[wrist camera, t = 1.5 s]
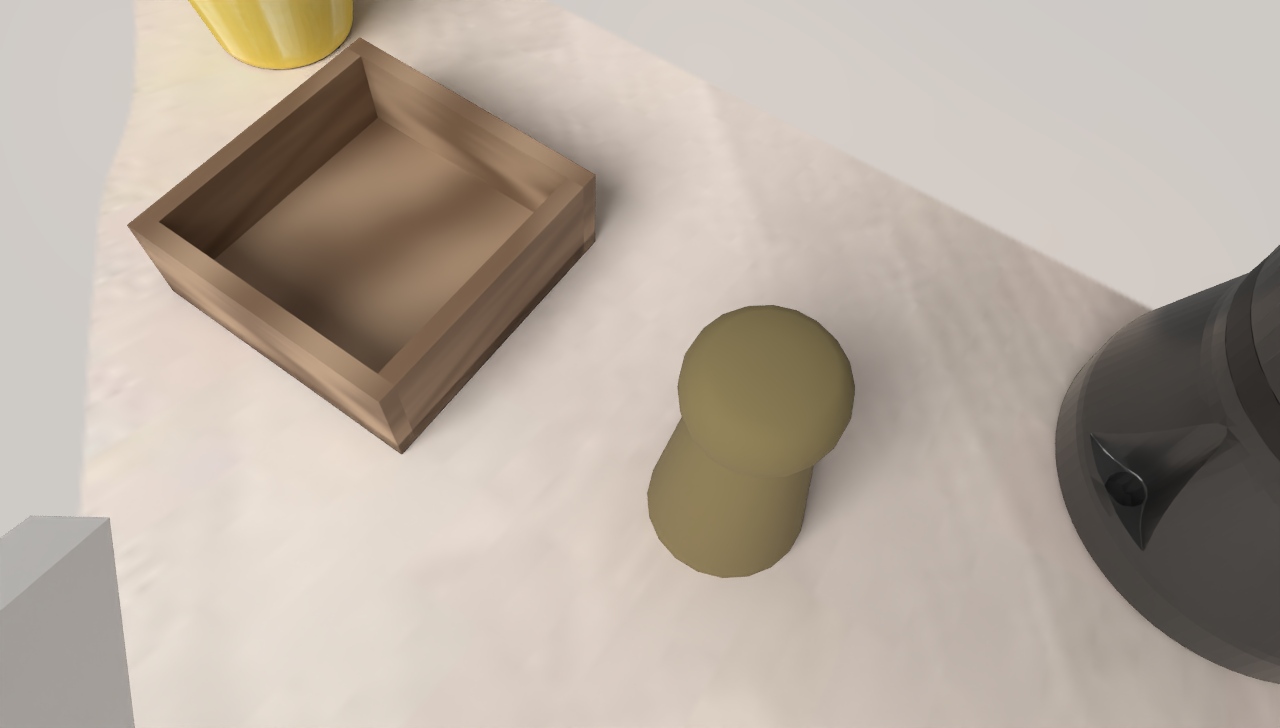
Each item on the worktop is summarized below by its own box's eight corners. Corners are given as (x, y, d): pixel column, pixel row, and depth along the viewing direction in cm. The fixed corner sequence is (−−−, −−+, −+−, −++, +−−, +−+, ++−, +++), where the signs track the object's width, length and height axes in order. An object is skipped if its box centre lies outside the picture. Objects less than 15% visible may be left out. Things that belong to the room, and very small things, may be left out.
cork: (702, 608, 34) (747, 500, 24) (617, 473, 36) (628, 327, 27) (835, 527, 36) (926, 397, 26) (746, 403, 38) (799, 242, 29)
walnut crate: (594, 241, 42) (595, 174, 38) (401, 454, 36) (379, 402, 32) (380, 111, 45) (359, 37, 41) (173, 290, 39) (126, 225, 36)
